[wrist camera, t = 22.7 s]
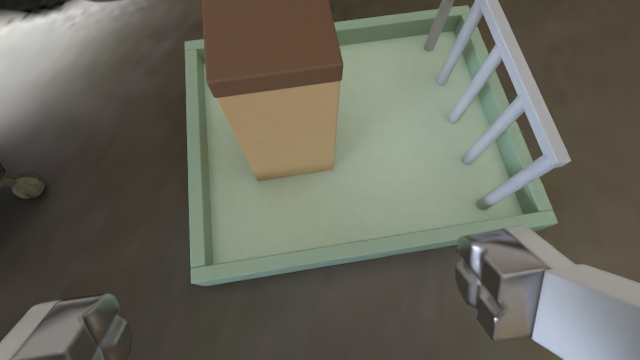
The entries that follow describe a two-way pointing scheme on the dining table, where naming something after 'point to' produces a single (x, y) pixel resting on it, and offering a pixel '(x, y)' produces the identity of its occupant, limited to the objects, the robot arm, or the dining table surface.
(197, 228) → the dish rack
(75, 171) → the dining table surface
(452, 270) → the dining table surface
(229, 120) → the kraft box
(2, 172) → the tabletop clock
